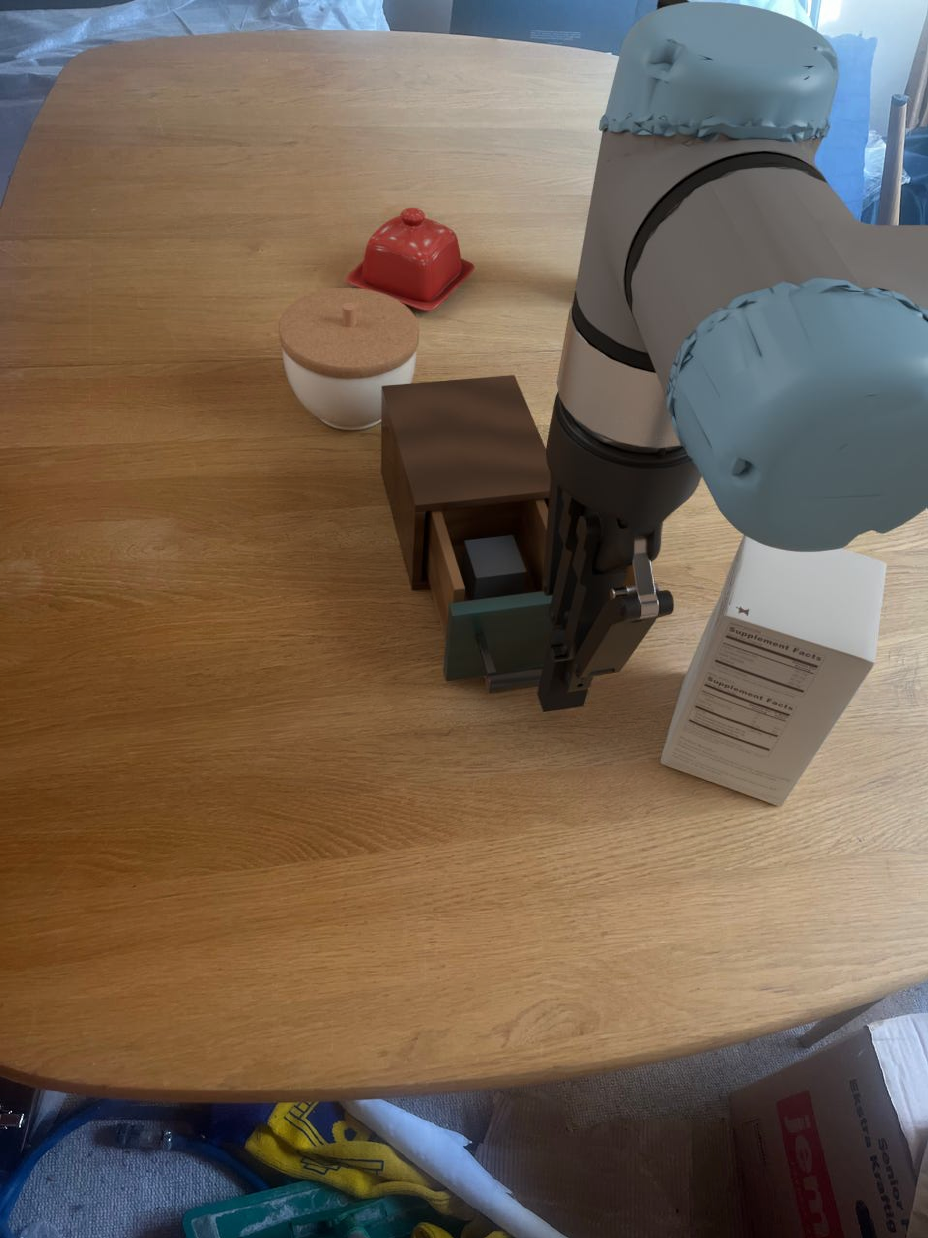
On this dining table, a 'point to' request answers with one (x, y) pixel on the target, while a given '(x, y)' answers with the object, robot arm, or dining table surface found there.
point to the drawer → (493, 627)
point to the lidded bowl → (347, 353)
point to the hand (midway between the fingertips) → (560, 699)
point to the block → (492, 568)
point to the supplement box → (776, 667)
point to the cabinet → (456, 453)
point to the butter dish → (412, 261)
